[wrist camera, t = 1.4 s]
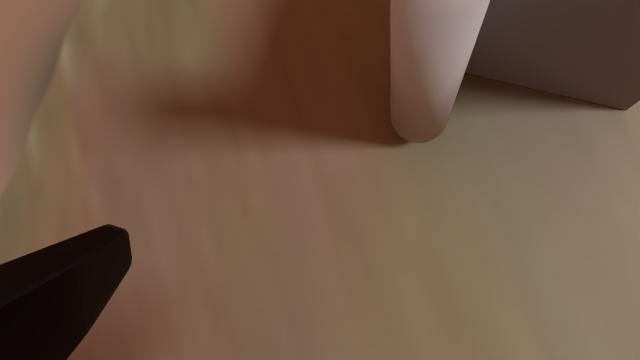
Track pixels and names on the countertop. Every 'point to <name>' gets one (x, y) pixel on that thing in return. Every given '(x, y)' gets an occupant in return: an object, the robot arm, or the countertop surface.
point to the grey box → (563, 48)
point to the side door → (429, 61)
